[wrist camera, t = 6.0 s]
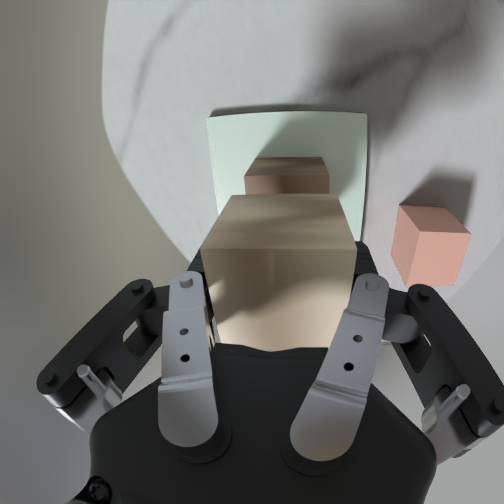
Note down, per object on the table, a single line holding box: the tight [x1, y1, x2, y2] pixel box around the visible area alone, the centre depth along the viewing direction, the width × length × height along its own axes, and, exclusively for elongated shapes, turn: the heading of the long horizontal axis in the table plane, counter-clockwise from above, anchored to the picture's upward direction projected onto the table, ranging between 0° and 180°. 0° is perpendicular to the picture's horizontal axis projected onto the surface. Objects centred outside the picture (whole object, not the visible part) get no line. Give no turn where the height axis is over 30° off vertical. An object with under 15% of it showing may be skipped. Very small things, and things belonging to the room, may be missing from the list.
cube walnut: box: [244, 157, 329, 195], centre depth 19 cm, size 5×5×5 cm
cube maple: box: [200, 194, 357, 351], centre depth 12 cm, size 5×5×5 cm
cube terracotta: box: [391, 205, 471, 287], centre depth 20 cm, size 5×5×5 cm
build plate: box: [206, 111, 367, 241], centre depth 21 cm, size 12×12×1 cm
